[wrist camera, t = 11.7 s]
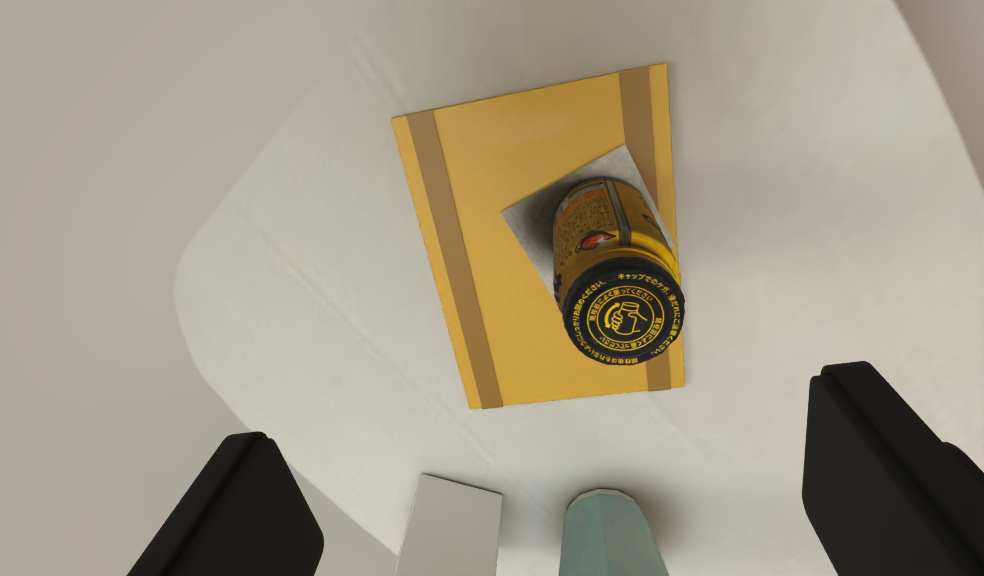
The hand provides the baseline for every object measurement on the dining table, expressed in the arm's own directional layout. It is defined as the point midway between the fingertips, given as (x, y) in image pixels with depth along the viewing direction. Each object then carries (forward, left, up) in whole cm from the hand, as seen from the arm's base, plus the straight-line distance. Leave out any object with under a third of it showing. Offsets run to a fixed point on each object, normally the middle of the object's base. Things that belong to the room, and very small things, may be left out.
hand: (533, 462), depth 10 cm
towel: (+8, 0, -26) cm, 27 cm away
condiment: (+5, +2, -26) cm, 26 cm away
